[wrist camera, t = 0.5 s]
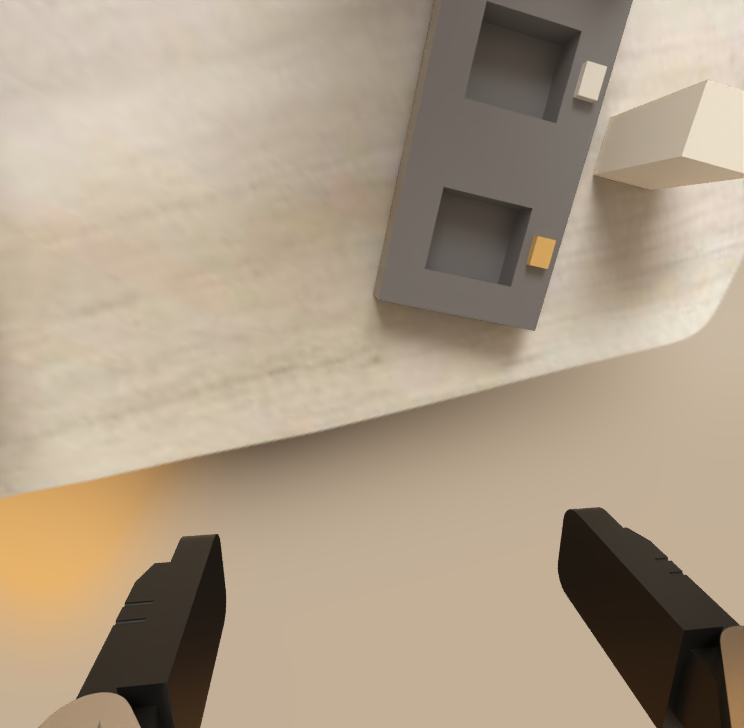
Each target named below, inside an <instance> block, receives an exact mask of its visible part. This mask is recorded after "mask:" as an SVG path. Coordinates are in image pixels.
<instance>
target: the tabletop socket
mask: <svg viewBox="0 0 744 728" xmlns="http://www.w3.org/2000/svg"><path fill="white" fill-rule="evenodd" d="M632 1H633V0H434V5H433V10H432V15H431V20H430V24H429V29H428V34H427V39H426V44H425V48H424V53H423V58H422V63H421V68H420V72H419V77H418V82H417V87H416V92H415V96H414V101H413V106H412V111H411V116H410V120H409V125H408V130H407V135H406V139H405V144H404V149H403V154H402V159H401V163H400V168H399V173H398V178H397V183H396V187H395V192H394V197H393V202H392V207H391V211H390V216H389V221H388V226H387V231H386V235H385V240H384V245H383V250H382V255H381V259H380V264H379V269H378V274H377V279H376V283H375V288H374V293H373V295H374V296H375V297H376V298H377V299H378V300H381V301H386V302H391V303H396V304H401V305H406V306H411V307H417V308H422V309H427V310H432V311H437V312H442V313H447V314H452V315H457V316H462V317H467V318H472V319H478V320H483V321H488V322H493V323H498V324H503V325H508V326H513V327H518V328H523V329H528V330H534V331H535V329H536V325H537V322H538V319H539V315H540V312H541V309H542V305H543V302H544V298H545V295H546V292H547V288H548V285H549V281H550V278H551V275H552V271H553V268H554V265H555V261H556V258H557V254H558V251H559V248H560V244H561V241H562V238H563V234H564V231H565V227H566V224H567V221H568V217H569V214H570V211H571V207H572V204H573V200H574V197H575V194H576V190H577V187H578V184H579V180H580V177H581V173H582V170H583V167H584V163H585V160H586V156H587V153H588V150H589V146H590V143H591V140H592V136H593V133H594V129H595V126H596V123H597V119H598V116H599V113H600V109H601V106H602V102H603V99H604V96H605V92H606V89H607V86H608V82H609V79H610V75H611V72H612V69H613V65H614V62H615V59H616V55H617V52H618V48H619V45H620V42H621V38H622V35H623V32H624V28H625V25H626V21H627V18H628V15H629V11H630V8H631V4H632Z"/></svg>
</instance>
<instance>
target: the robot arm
mask: <svg viewBox="0 0 744 728" xmlns="http://www.w3.org/2000/svg"><path fill="white" fill-rule="evenodd" d="M558 574H559V579H560V582H561V585H562V588H563V590H564V592H565V593H566V595H567V597H568V598H569V600H570V601H571V602H572V604H573V605H574V607H575V608H576V610H577V611H578V613H579V614H580V616H581V617H582V619H583V620H584V622H585V623H586V624H587V626H588V628H589V629H590V630H591V632H592V633H593V635H594V636H595V637H596V639H597V641H598V642H599V644H600V645H601V647H602V648H603V649H604V651H605V652H606V654H607V655H608V657H609V658H610V660H611V661H612V663H613V664H614V666H615V667H616V668H617V670H618V672H619V673H620V675H621V676H622V677H623V679H624V680H625V682H626V683H627V685H628V686H629V688H630V689H631V691H632V692H633V694H634V695H635V696H636V698H637V700H638V701H639V702H640V704H641V705H642V707H643V708H644V710H645V711H646V713H647V714H648V716H649V717H650V719H651V720H652V722H653V723H654V725H655V726H656V727H657V728H744V626H740V625H739V624H738V623H737V622H736V621H735V620H734V619H733V618H731V616H729V615H728V614H727V613H726V612H725V611H724V610H723V609H722V608H721V607H720V606H719V605H718V604H717V603H716V602H715V601H713V600H712V599H711V598H710V597H709V596H708V595H707V594H706V593H705V592H704V591H703V590H702V589H701V588H700V587H699V586H698V585H696V584H695V583H694V582H693V581H692V580H691V579H690V578H689V577H688V576H687V575H683V573H682V570H680V569H679V568H678V567H677V566H676V565H675V564H674V563H673V562H672V561H668V557H667V556H666V555H665V554H663V552H661V551H660V550H659V549H658V548H657V547H656V546H655V545H654V544H653V543H652V542H651V541H649V540H648V539H646V538H644V537H642V536H641V535H639V534H637V533H635V532H634V531H632V530H630V529H628V528H623V527H622V526H621V525H620V524H619V523H617V521H616V520H615V519H614V518H613V517H611V516H610V515H609V514H608V513H607V512H606V511H605V510H604V509H602V508H600V507H598V508H583V509H569V510H567V511H566V513H565V515H564V519H563V528H562V536H561V543H560V551H559V559H558ZM225 613H226V588H225V579H224V570H223V561H222V552H221V543H220V538H219V536H218V534H213V535H199V536H185V537H182V538H181V539H180V541H179V543H178V546H177V548H176V550H175V553H174V555H173V557H172V560H171V562H167V563H155V564H154V565H153V566H151V567H150V568H149V569H148V570H147V571H146V572H145V573H144V574H143V575H142V576H141V577H140V578H139V579H138V580H137V581H136V582H135V584H134V586H133V588H132V590H131V592H130V594H129V596H128V598H127V600H126V602H125V606H124V607H123V608H122V609H121V611H120V613H119V615H118V617H117V619H116V624H115V625H114V626H113V627H112V629H111V631H110V633H109V635H108V637H107V639H106V641H105V643H104V645H103V647H102V649H101V651H100V653H99V655H98V657H97V659H96V661H95V663H94V665H93V667H92V669H91V671H90V673H89V675H88V677H87V679H86V681H85V683H84V685H83V687H82V689H81V691H80V693H79V695H78V696H77V698H76V700H74V701H72V702H70V703H69V704H66V705H65V706H63V707H62V708H60V709H59V710H57V711H56V712H55V713H53V714H52V715H51V716H50V717H48V718H47V719H46V720H45V721H44V722H43V723H42V724H41V725H40V726H39V727H38V728H200V726H201V722H202V717H203V713H204V708H205V704H206V700H207V695H208V691H209V687H210V682H211V678H212V674H213V669H214V665H215V661H216V656H217V652H218V648H219V643H220V639H221V635H222V630H223V626H224V621H225Z"/></svg>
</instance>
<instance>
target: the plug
mask: <svg viewBox="0 0 744 728" xmlns="http://www.w3.org/2000/svg"><path fill="white" fill-rule="evenodd" d="M593 175H596V176H599V177H603V178H607V179H611V180H615V181H619V182H622V183H626V184H630V185H634V186H638V187H642V188H645V189H649V190H655V189H662V188H670V187H678V186H686V185H693V184H701V183H709V182H716V181H724V180H732V179H739V178H744V91H743V90H739V89H736V88H733V87H730V86H727V85H723V84H720V83H717V82H714V81H711V80H705V81H703V82H700V83H698V84H695V85H692V86H690V87H687V88H685V89H682V90H680V91H677V92H675V93H672V94H670V95H667V96H664V97H662V98H659V99H657V100H654V101H652V102H649V103H647V104H644V105H641V106H639V107H636V108H634V109H631V110H629V111H626V112H624V113H621V114H618V115H616V116H613V117H611V118H610V120H609V123H608V126H607V130H606V133H605V136H604V140H603V143H602V146H601V150H600V153H599V156H598V159H597V163H596V166H595V169H594V173H593Z"/></svg>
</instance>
